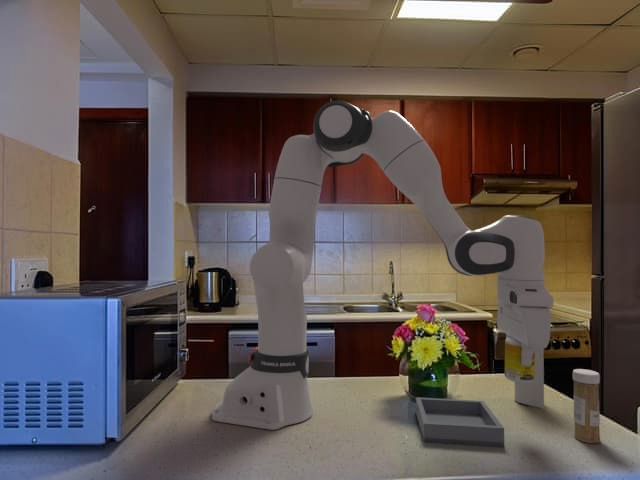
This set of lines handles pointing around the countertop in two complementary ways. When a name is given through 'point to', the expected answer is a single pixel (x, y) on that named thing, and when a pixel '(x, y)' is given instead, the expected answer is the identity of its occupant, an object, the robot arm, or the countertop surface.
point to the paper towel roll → (533, 384)
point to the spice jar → (586, 405)
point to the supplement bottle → (517, 362)
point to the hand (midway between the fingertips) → (519, 360)
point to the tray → (458, 422)
